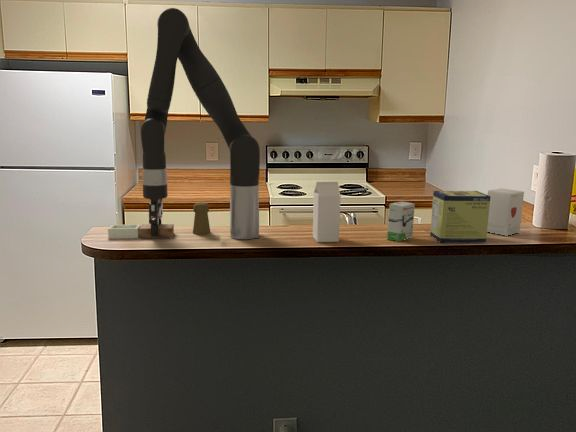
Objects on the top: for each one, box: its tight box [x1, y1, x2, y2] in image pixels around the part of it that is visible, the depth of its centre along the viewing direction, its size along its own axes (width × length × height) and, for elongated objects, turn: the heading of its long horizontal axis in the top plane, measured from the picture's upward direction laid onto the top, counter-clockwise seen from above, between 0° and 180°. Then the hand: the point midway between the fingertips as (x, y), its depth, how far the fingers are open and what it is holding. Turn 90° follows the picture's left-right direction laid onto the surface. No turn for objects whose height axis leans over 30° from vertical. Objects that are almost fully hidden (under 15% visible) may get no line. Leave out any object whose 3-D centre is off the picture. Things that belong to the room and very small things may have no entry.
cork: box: [192, 201, 211, 236], centre depth 172 cm, size 6×6×11 cm
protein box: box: [429, 190, 491, 243], centre depth 172 cm, size 10×16×16 cm
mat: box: [140, 238, 171, 240], centre depth 168 cm, size 9×9×1 cm
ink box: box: [386, 200, 416, 242], centre depth 172 cm, size 9×5×12 cm, turn 137°
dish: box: [107, 224, 142, 239], centre depth 167 cm, size 9×6×4 cm, turn 97°
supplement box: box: [487, 188, 525, 237], centre depth 182 cm, size 9×9×15 cm
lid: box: [139, 223, 175, 239], centre depth 168 cm, size 10×6×3 cm, turn 97°
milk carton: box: [312, 181, 342, 243], centre depth 168 cm, size 7×7×19 cm
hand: (156, 233), depth 168 cm, fingers open, 8 cm apart
